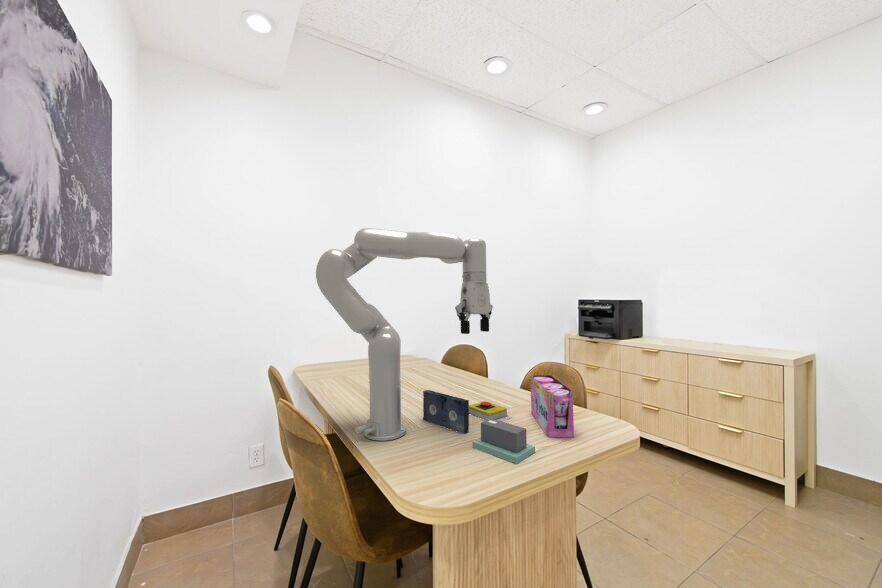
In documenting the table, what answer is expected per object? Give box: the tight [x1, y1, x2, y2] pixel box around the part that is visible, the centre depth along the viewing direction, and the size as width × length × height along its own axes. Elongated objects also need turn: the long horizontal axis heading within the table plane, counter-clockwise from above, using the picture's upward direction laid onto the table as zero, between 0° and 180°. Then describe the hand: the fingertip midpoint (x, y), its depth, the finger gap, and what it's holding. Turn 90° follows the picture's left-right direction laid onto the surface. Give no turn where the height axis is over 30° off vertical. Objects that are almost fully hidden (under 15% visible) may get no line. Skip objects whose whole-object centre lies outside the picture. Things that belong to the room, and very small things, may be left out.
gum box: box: [530, 374, 575, 438], centre depth 112 cm, size 24×8×14 cm, turn 178°
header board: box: [472, 437, 536, 464], centre depth 93 cm, size 9×14×4 cm, turn 45°
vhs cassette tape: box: [422, 389, 470, 435], centre depth 112 cm, size 18×3×10 cm, turn 44°
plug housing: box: [480, 419, 528, 454], centre depth 93 cm, size 5×12×5 cm, turn 45°
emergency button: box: [468, 400, 513, 422], centre depth 122 cm, size 9×4×15 cm
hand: (475, 332), depth 109 cm, fingers open, 9 cm apart
